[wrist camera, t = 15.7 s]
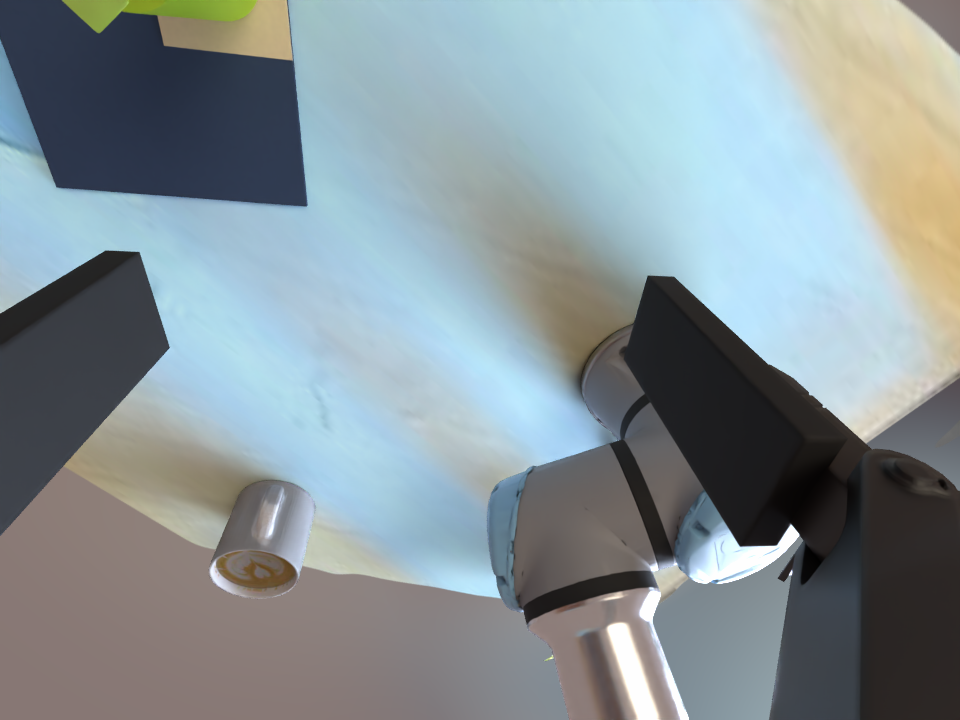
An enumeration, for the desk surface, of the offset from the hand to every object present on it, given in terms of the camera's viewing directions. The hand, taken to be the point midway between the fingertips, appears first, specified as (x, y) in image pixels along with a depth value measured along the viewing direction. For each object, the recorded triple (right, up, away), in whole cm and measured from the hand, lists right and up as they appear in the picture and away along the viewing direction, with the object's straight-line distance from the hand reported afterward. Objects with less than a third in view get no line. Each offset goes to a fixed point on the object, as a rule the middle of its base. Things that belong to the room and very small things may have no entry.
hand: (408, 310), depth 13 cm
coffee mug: (-24, -19, +50) cm, 59 cm away
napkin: (-22, +21, +22) cm, 38 cm away
